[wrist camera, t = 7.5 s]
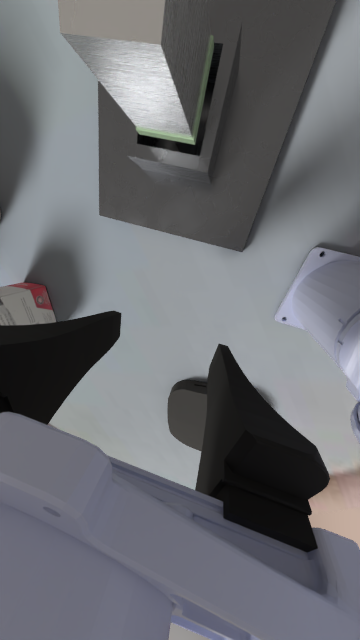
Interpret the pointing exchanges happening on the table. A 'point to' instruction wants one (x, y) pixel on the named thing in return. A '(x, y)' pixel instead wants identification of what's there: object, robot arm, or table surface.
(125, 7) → the column
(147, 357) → the table surface
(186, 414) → the media streaming box
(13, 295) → the ink box
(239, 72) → the stand
